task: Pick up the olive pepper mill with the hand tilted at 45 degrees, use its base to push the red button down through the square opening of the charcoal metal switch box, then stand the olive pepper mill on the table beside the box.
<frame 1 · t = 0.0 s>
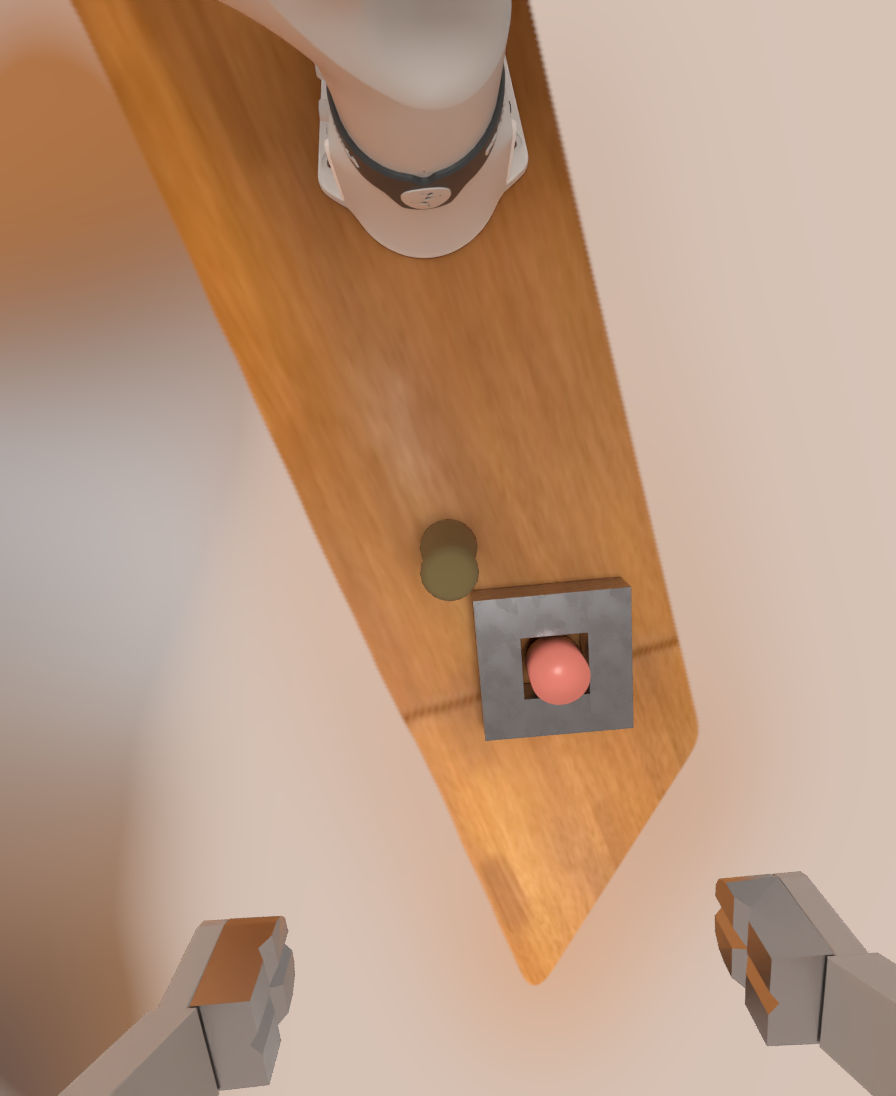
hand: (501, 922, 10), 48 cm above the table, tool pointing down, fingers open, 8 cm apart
button: (556, 668, 57), point 4 cm above the table, slide at 0.0 cm
switch box: (549, 652, 61), on the table
olive pepper mill: (448, 547, 58), on the table
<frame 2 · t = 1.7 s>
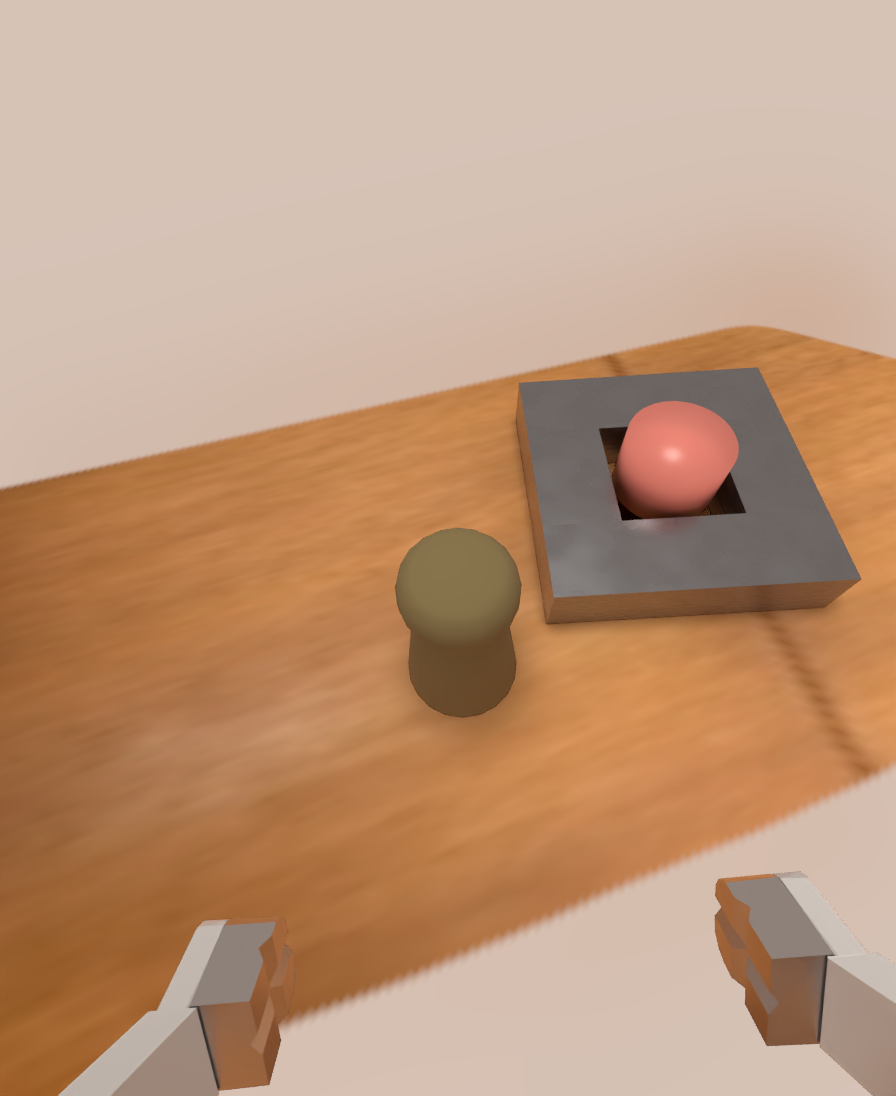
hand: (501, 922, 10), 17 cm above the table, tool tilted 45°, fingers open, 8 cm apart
button: (671, 463, 32), point 4 cm above the table, slide at 0.0 cm
switch box: (652, 502, 36), on the table
olive pepper mill: (462, 663, 31), on the table
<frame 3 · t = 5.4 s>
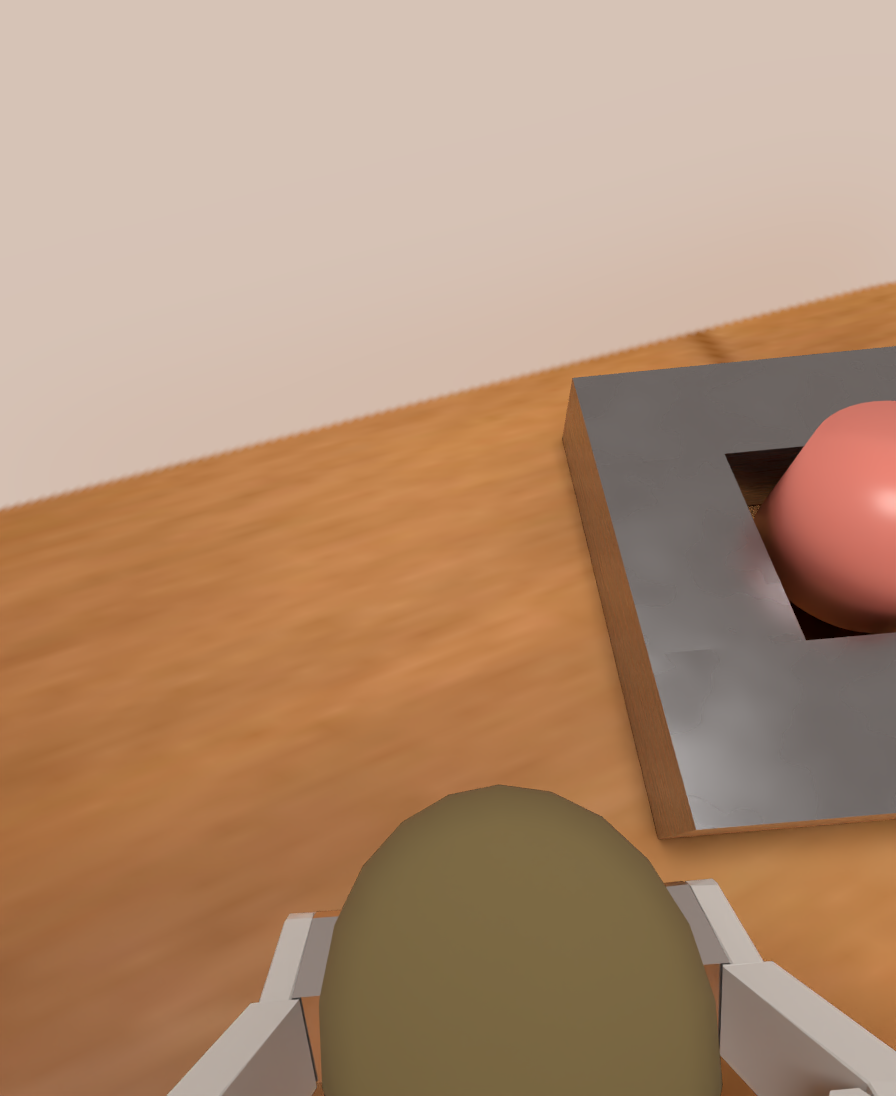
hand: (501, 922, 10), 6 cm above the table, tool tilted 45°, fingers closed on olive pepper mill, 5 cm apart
button: (881, 518, 17), point 4 cm above the table, slide at 0.0 cm
switch box: (815, 578, 20), on the table
olive pepper mill: (499, 934, 16), on the table, touching gripper
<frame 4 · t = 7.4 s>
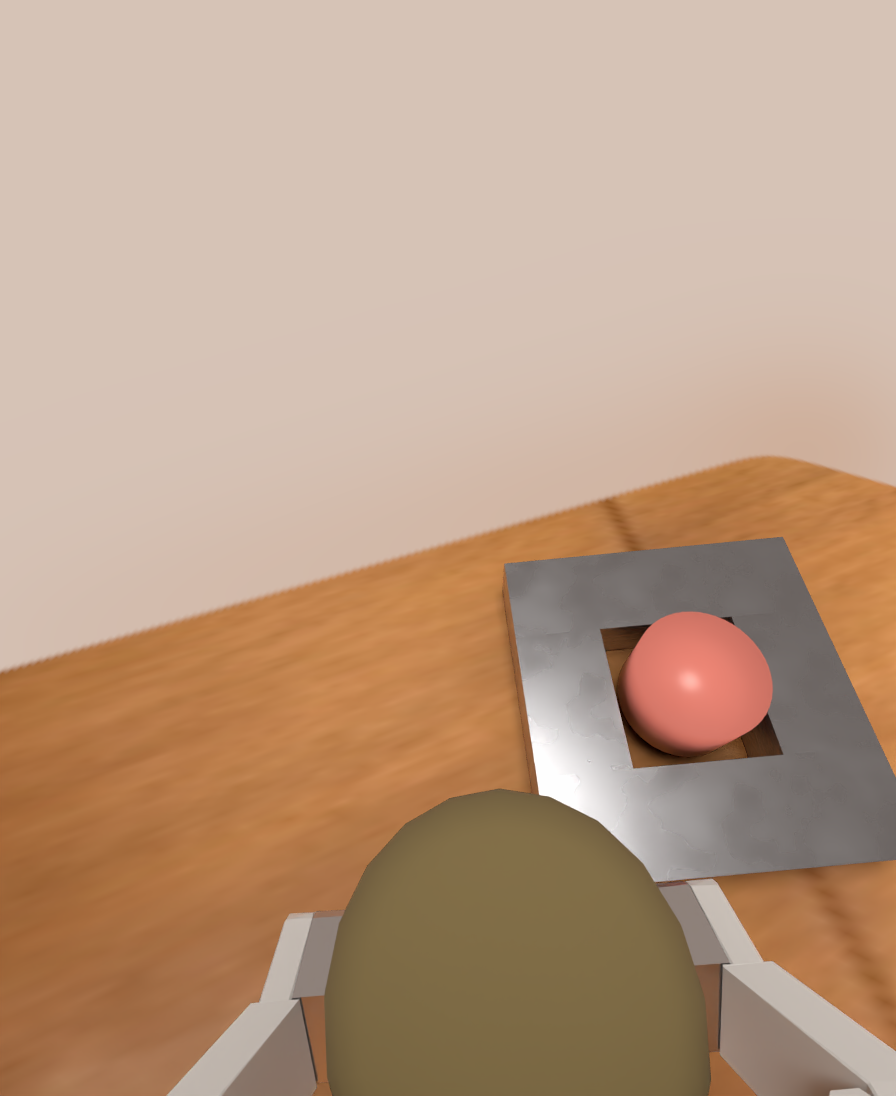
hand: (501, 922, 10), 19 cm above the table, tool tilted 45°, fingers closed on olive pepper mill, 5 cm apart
button: (688, 684, 27), point 4 cm above the table, slide at 0.0 cm
switch box: (665, 706, 30), on the table
olive pepper mill: (498, 936, 16), point 12 cm above the table, touching gripper
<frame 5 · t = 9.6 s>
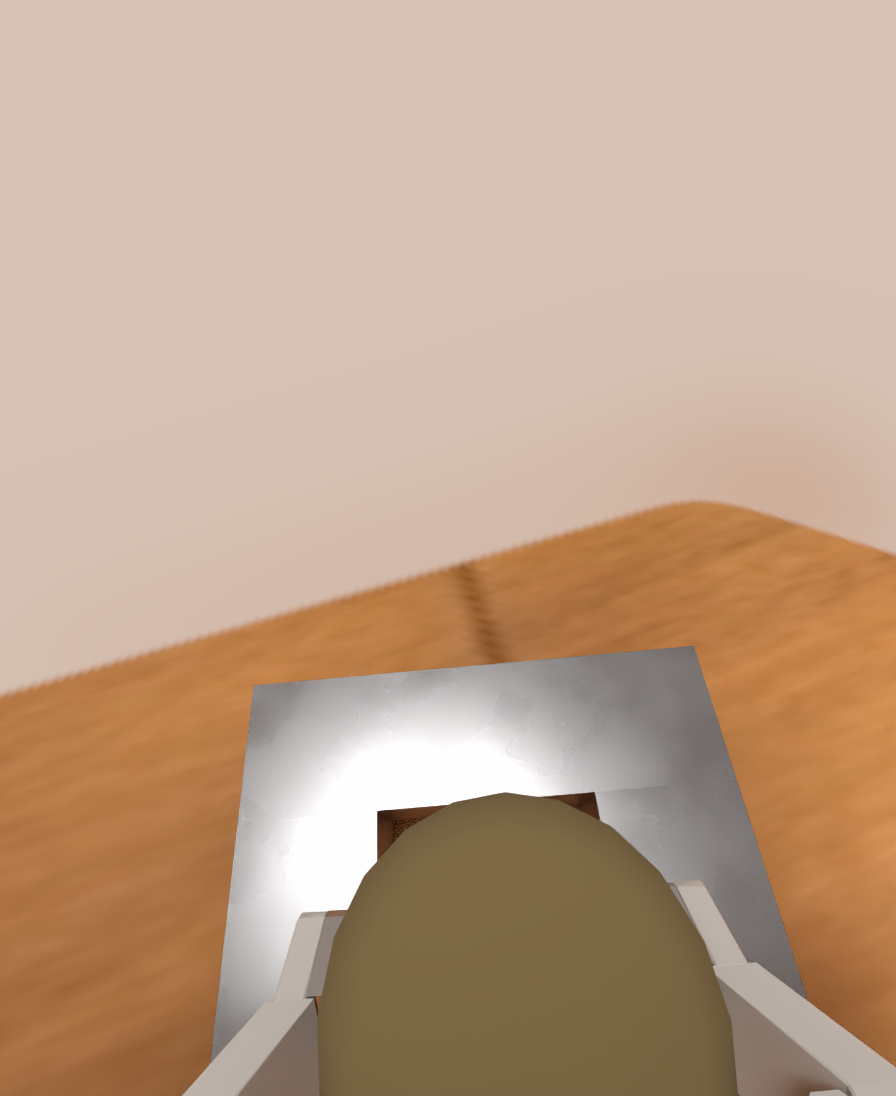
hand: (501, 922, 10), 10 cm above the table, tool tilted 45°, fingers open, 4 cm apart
switch box: (496, 925, 19), on the table
olive pepper mill: (501, 941, 15), point 4 cm above the table, touching button
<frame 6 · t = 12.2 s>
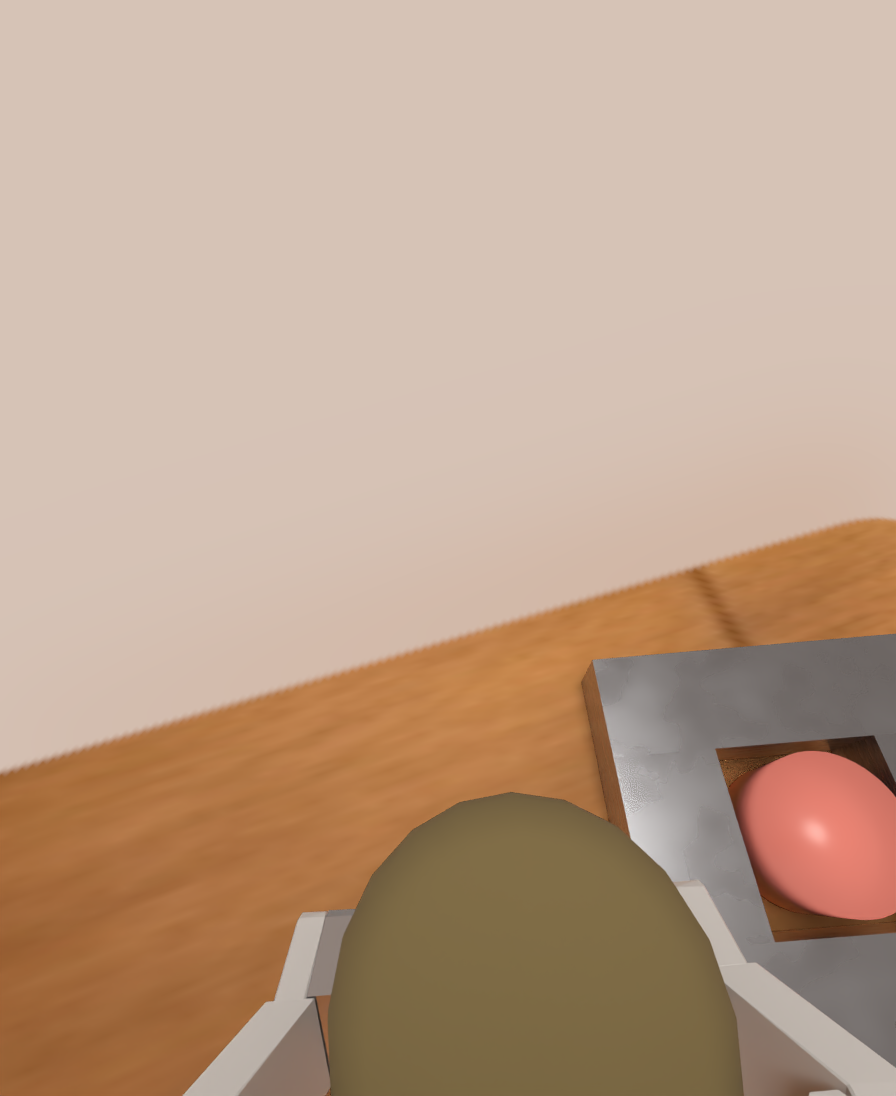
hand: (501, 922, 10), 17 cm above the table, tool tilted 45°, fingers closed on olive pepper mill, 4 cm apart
button: (810, 833, 24), point 2 cm above the table, slide at 1.9 cm
switch box: (787, 836, 25), on the table
olive pepper mill: (505, 940, 15), point 11 cm above the table, touching gripper
when the fingers open (8 cm above the table, at t = 14.2 s): olive pepper mill drops 2 cm, on the table.
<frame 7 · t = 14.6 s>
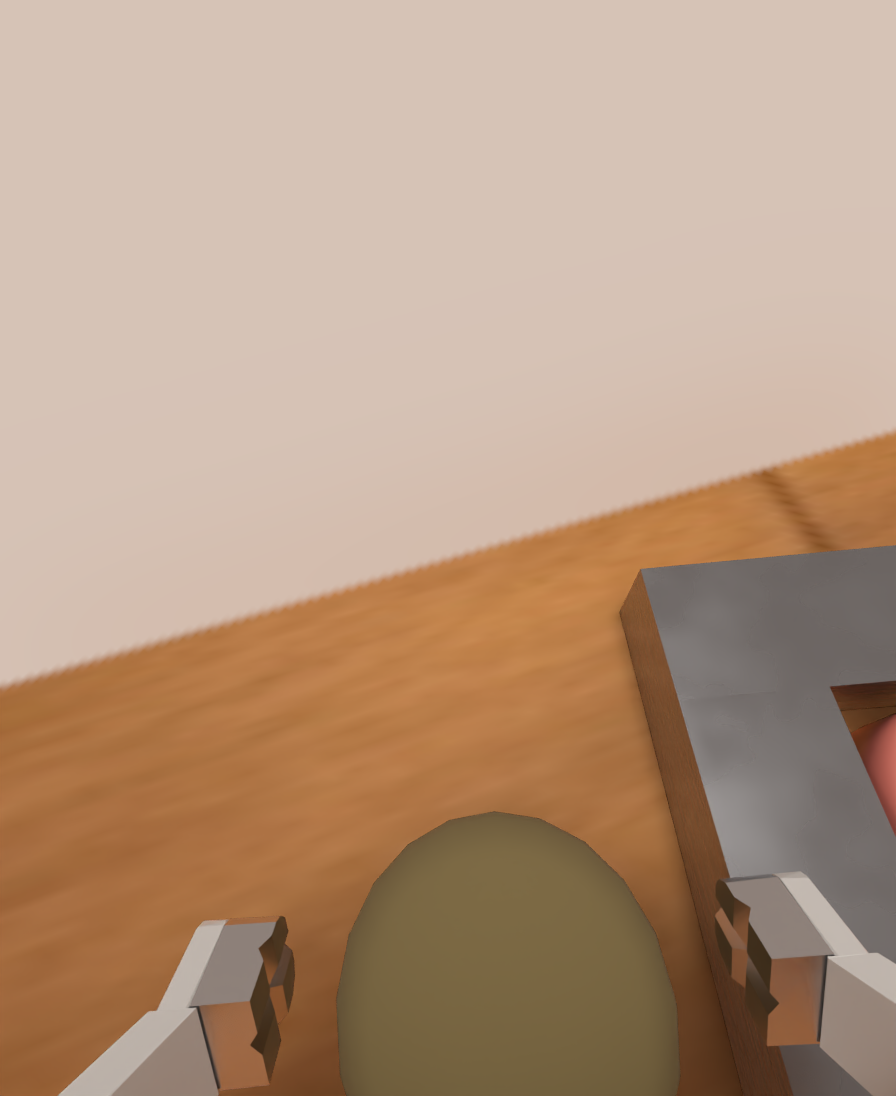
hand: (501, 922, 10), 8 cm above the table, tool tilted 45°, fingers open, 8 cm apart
olive pepper mill: (495, 938, 17), on the table
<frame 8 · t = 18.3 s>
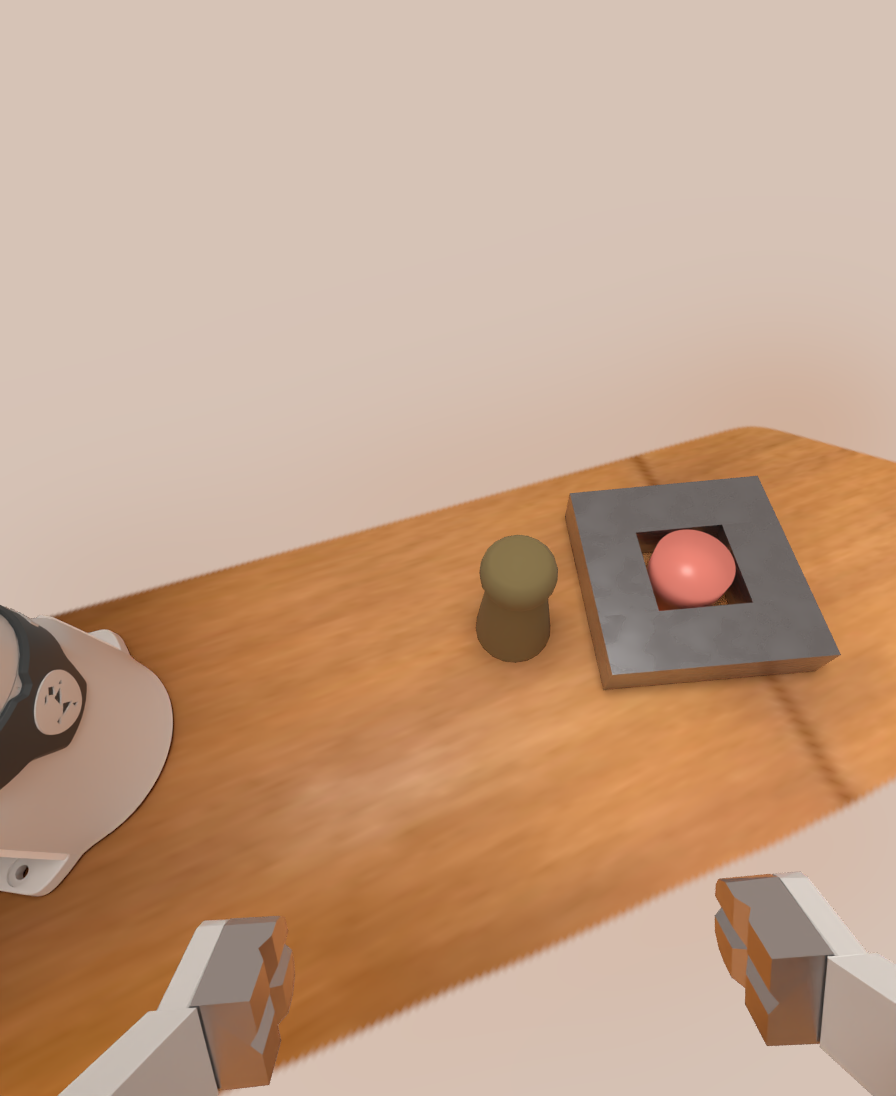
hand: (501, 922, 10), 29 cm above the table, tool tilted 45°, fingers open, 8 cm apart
button: (686, 574, 44), point 2 cm above the table, slide at 1.9 cm
switch box: (678, 586, 46), on the table
olive pepper mill: (512, 627, 45), on the table
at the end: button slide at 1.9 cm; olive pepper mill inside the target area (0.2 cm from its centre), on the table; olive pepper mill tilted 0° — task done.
